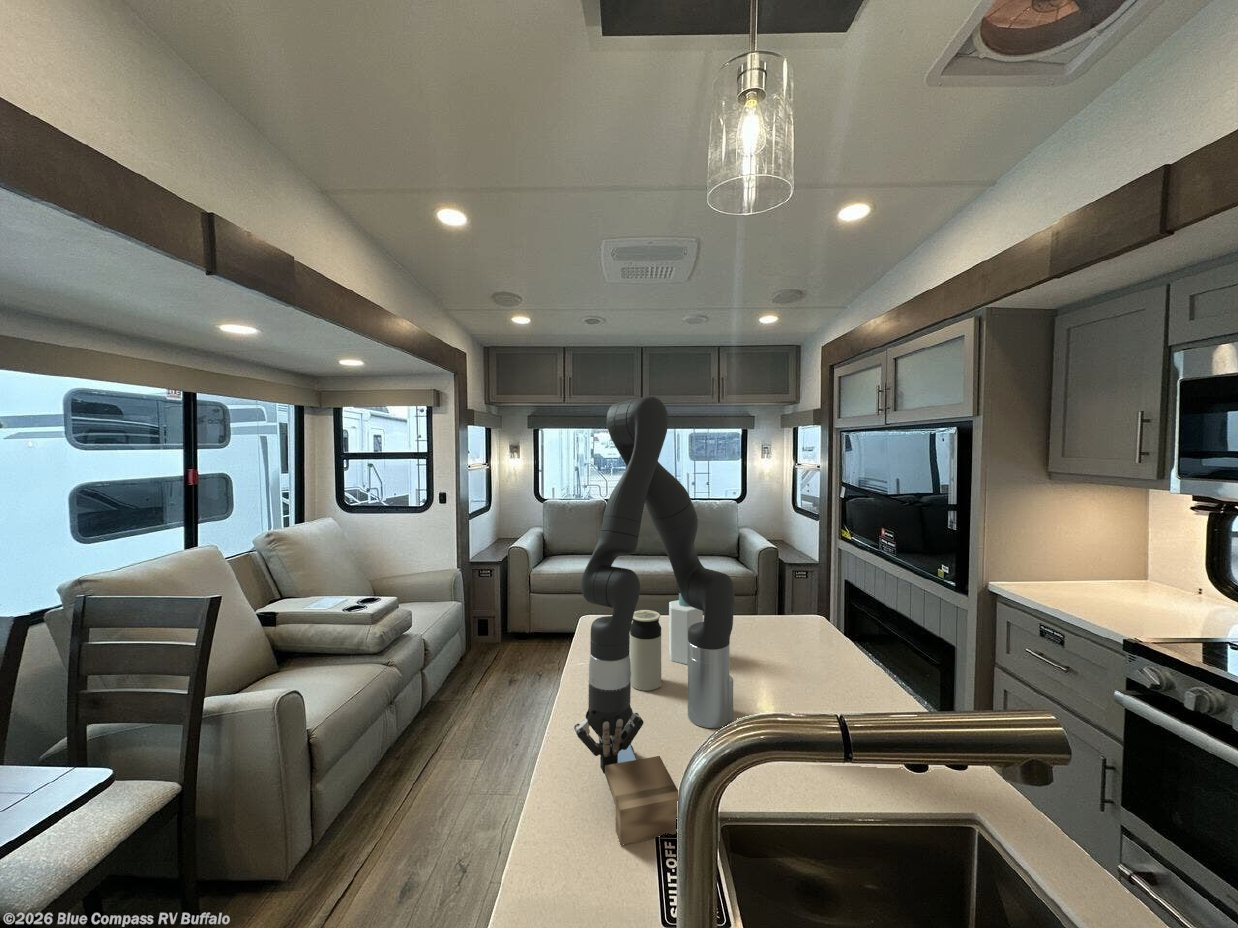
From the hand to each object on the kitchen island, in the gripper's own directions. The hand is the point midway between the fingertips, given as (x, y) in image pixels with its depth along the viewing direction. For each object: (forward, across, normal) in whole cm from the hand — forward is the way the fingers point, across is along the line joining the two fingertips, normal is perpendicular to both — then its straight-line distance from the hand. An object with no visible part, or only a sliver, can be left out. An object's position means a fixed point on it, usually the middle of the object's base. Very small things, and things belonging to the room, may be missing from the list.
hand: (608, 772), depth 85 cm
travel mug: (+2, -20, -32) cm, 38 cm away
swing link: (+1, -4, -1) cm, 4 cm away
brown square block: (+2, -3, +8) cm, 9 cm away
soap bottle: (+2, -37, -42) cm, 56 cm away
